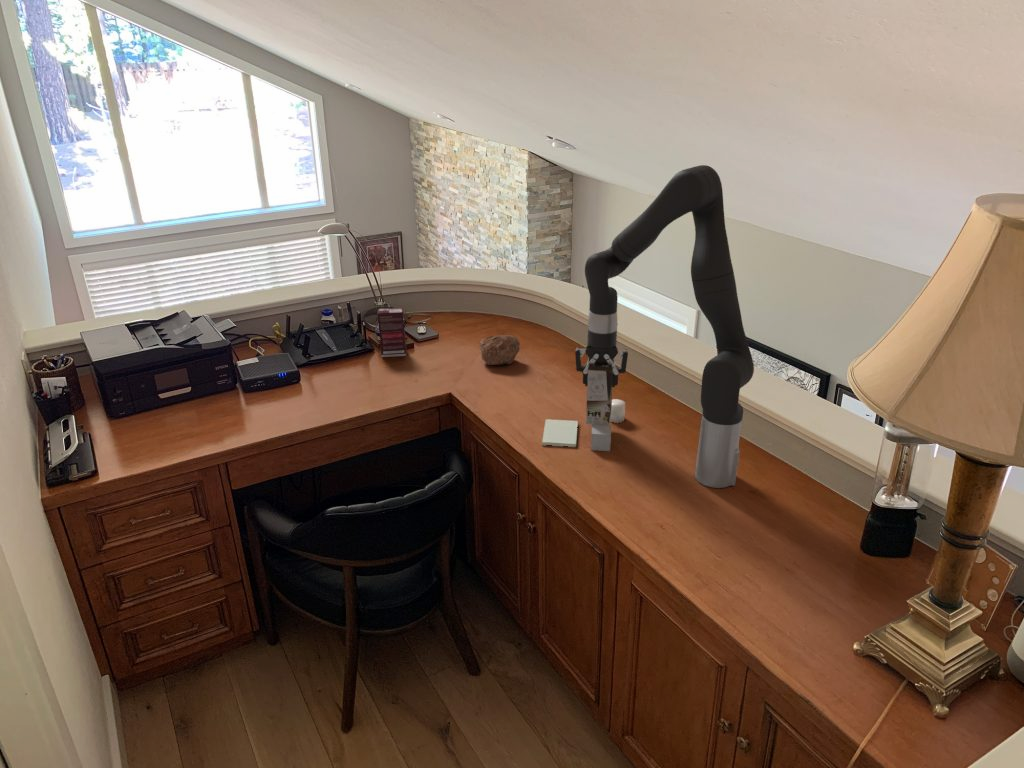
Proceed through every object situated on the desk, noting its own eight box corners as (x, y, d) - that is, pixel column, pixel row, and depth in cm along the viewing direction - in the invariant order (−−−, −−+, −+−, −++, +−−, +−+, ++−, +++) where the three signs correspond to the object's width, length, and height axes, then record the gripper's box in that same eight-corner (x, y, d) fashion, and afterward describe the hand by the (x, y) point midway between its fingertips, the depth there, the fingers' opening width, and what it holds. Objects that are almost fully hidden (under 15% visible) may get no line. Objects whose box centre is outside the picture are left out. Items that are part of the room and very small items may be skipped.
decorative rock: (522, 357, 255) (522, 329, 250) (516, 370, 245) (516, 342, 240) (484, 354, 257) (483, 327, 253) (476, 367, 247) (476, 339, 243)
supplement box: (406, 350, 260) (403, 307, 253) (406, 356, 256) (403, 312, 249) (381, 352, 259) (377, 308, 253) (380, 357, 255) (377, 313, 248)
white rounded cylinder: (624, 415, 216) (625, 399, 214) (624, 423, 212) (625, 407, 210) (606, 414, 217) (607, 398, 215) (606, 422, 212) (607, 406, 210)
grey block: (610, 442, 202) (611, 425, 200) (609, 451, 198) (610, 434, 196) (591, 441, 203) (592, 424, 201) (590, 450, 199) (591, 433, 196)
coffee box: (609, 426, 201) (611, 371, 194) (585, 424, 202) (586, 369, 196) (612, 411, 209) (614, 357, 202) (588, 409, 210) (590, 356, 204)
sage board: (577, 424, 211) (577, 421, 211) (575, 447, 200) (575, 443, 199) (545, 422, 212) (545, 419, 212) (541, 445, 201) (542, 442, 200)
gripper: (573, 331, 192) (572, 390, 199) (630, 333, 191) (627, 392, 198) (575, 321, 199) (573, 379, 206) (630, 323, 197) (627, 380, 204)
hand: (600, 385), depth 202 cm, fingers closed on coffee box, 6 cm apart
